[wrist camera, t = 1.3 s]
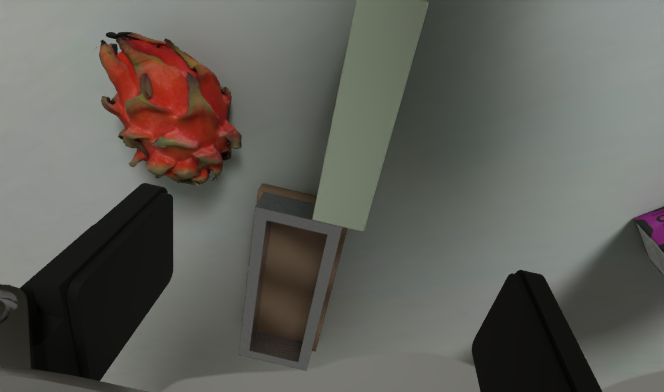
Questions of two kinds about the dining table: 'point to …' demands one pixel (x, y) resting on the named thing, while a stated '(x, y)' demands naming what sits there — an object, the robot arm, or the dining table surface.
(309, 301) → the open rectangular box
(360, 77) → the pale green rectangular block
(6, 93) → the dining table surface
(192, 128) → the dragon fruit
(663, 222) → the candy bar box
